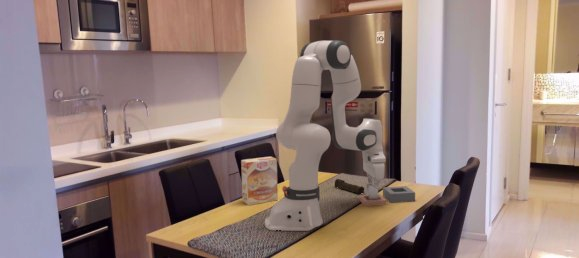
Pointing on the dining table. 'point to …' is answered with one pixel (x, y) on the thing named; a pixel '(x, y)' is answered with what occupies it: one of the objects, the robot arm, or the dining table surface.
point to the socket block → (398, 194)
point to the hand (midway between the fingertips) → (373, 185)
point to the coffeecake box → (259, 180)
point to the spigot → (372, 192)
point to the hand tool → (348, 186)
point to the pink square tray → (372, 202)
